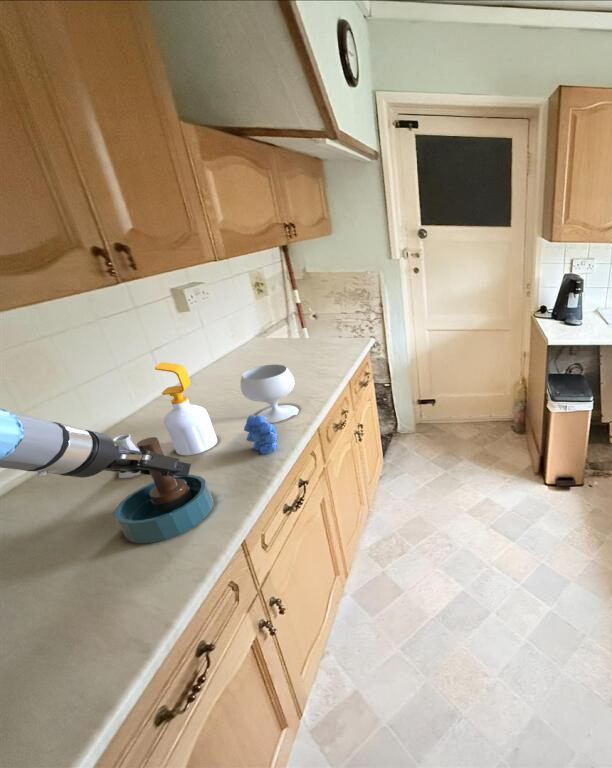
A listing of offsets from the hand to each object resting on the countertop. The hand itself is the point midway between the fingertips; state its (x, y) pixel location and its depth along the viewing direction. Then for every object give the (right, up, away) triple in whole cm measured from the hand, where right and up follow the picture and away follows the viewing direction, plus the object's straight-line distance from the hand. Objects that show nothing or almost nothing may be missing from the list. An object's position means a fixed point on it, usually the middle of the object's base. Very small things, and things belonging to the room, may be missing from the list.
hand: (177, 470), depth 86 cm
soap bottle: (-13, +1, +22) cm, 26 cm away
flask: (-20, -3, +12) cm, 24 cm away
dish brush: (0, -6, -1) cm, 6 cm away
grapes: (+7, 0, +20) cm, 22 cm away
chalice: (-1, +9, +38) cm, 39 cm away
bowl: (0, -10, -2) cm, 10 cm away
